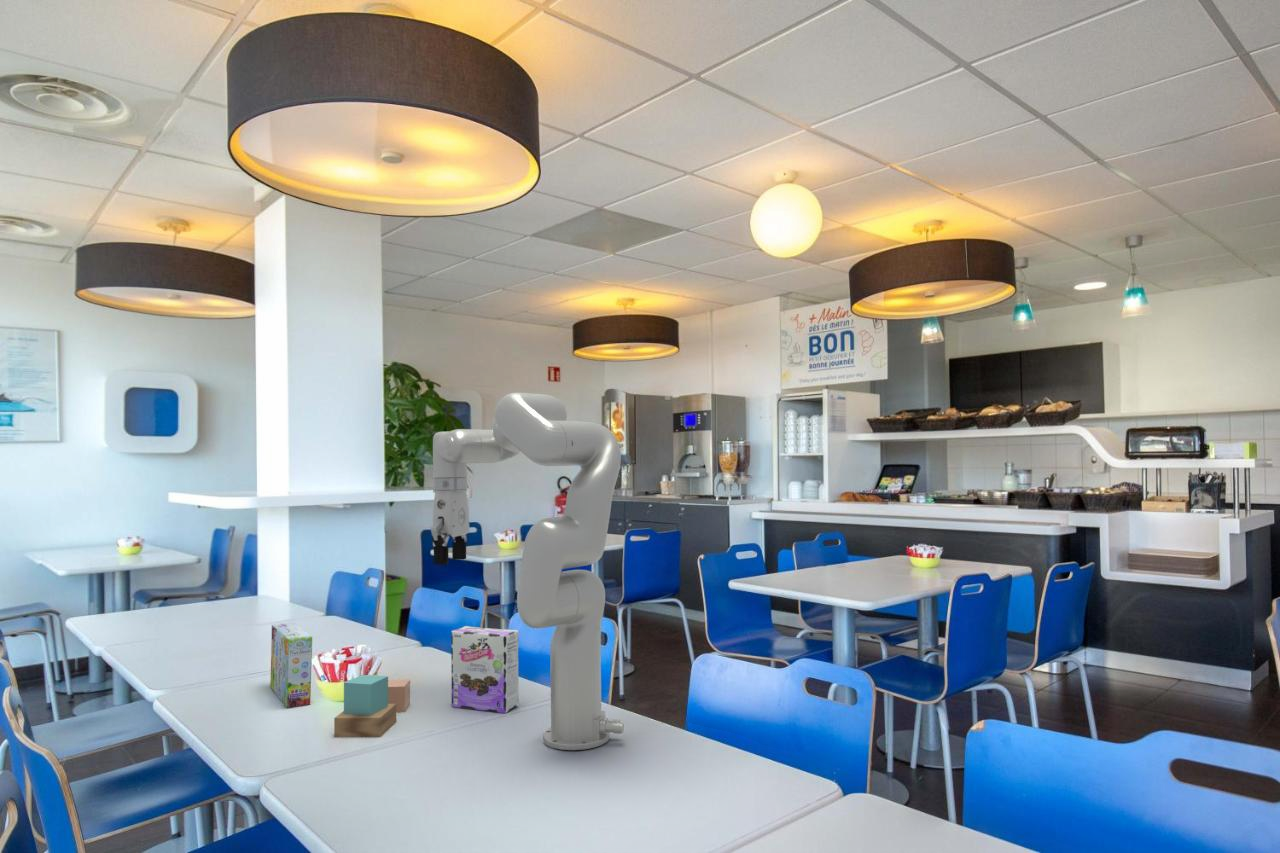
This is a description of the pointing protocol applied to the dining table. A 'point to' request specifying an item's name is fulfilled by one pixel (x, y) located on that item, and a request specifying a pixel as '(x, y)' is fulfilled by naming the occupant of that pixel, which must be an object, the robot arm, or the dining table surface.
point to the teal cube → (365, 695)
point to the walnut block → (365, 723)
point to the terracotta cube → (399, 694)
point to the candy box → (484, 669)
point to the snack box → (291, 664)
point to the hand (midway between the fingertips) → (450, 561)
